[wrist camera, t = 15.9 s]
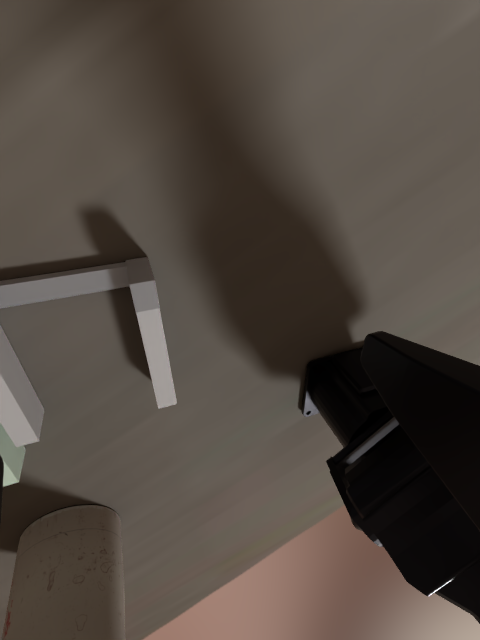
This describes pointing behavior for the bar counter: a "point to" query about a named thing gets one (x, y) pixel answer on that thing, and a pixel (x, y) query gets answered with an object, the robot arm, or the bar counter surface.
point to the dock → (3, 365)
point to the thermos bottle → (69, 578)
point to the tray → (10, 458)
